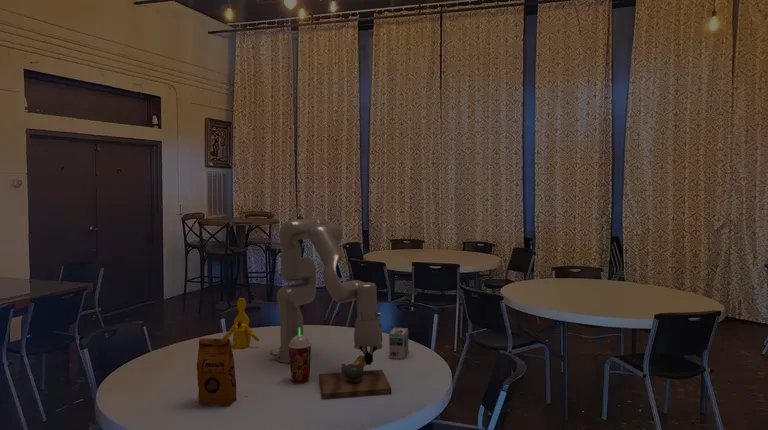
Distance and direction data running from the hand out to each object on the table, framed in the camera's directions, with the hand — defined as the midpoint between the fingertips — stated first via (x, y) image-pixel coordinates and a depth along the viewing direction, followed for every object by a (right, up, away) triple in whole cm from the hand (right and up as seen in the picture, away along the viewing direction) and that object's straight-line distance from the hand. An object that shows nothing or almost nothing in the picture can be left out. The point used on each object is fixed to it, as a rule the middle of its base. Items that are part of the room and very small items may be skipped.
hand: (368, 363), depth 206 cm
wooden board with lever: (-5, -6, -8) cm, 11 cm away
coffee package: (-51, -8, -20) cm, 55 cm away
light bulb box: (+12, -4, +28) cm, 31 cm away
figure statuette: (-59, -4, +44) cm, 74 cm away
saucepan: (-4, -2, -4) cm, 6 cm away
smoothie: (-26, -6, -1) cm, 26 cm away
